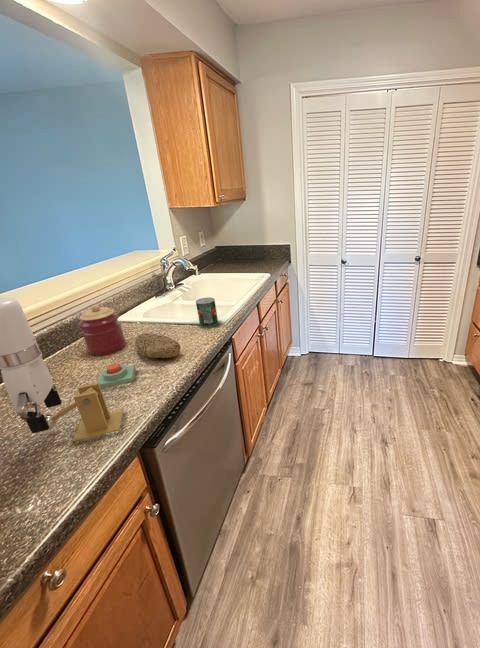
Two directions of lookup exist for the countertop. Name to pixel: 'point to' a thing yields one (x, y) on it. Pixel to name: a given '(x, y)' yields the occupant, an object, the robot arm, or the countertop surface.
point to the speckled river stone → (157, 346)
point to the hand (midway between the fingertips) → (48, 417)
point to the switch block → (117, 376)
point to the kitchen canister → (101, 330)
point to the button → (113, 368)
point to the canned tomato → (207, 312)
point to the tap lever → (63, 411)
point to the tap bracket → (95, 413)
